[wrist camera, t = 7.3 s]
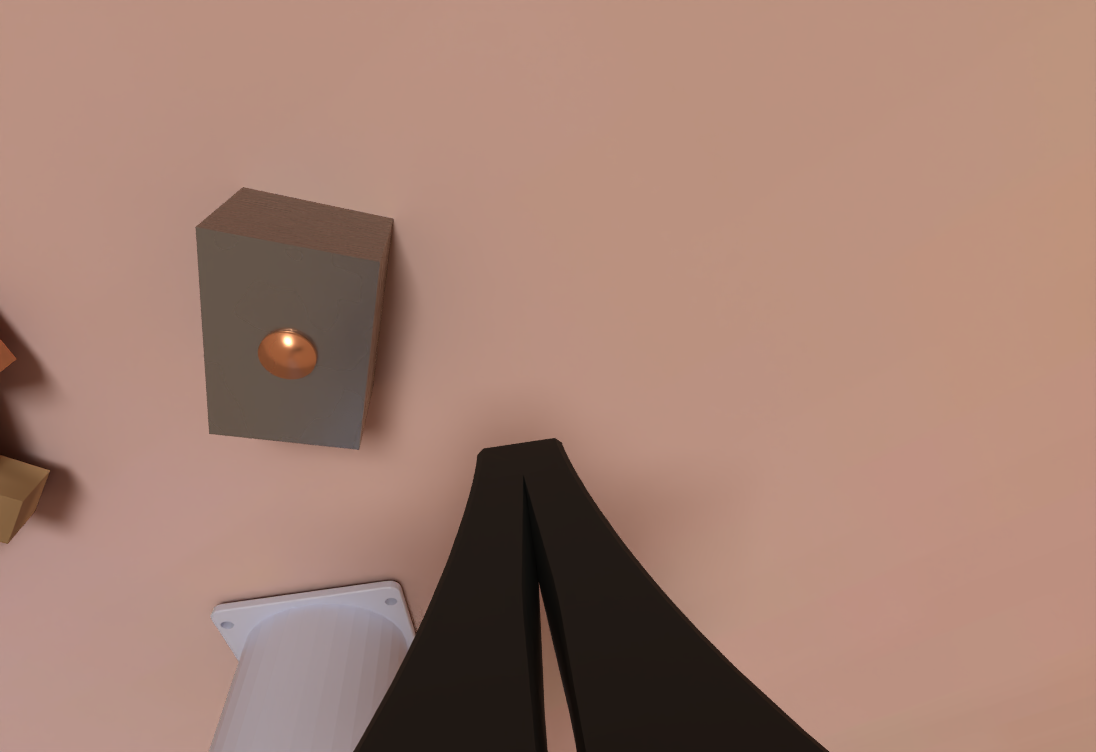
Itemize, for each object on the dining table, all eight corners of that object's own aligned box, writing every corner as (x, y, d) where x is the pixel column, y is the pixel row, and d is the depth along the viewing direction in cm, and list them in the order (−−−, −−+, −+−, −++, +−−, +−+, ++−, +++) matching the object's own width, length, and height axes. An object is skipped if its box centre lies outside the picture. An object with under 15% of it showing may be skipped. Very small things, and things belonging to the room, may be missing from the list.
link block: (373, 383, 19) (358, 453, 16) (248, 366, 18) (207, 437, 15) (393, 216, 16) (379, 264, 13) (244, 185, 15) (192, 228, 12)
